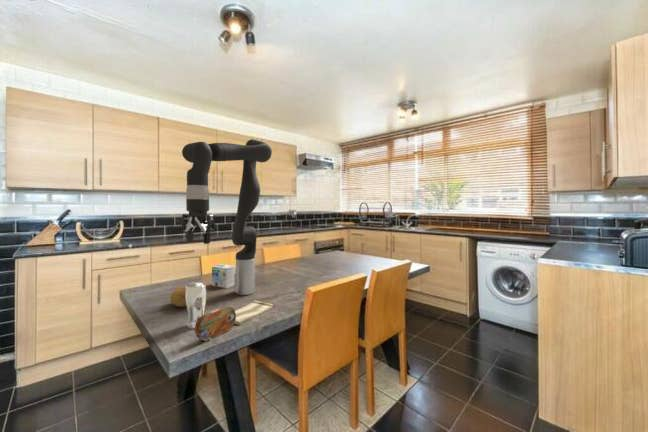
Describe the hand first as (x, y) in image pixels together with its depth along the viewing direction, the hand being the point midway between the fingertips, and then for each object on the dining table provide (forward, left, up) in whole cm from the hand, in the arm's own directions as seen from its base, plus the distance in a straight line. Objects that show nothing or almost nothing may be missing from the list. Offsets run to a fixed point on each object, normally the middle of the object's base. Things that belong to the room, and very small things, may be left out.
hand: (198, 242), depth 100 cm
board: (+9, +16, -30) cm, 35 cm away
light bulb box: (-29, +40, -30) cm, 58 cm away
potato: (-22, +10, -30) cm, 39 cm away
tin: (+12, -3, -30) cm, 33 cm away
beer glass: (0, -1, -30) cm, 30 cm away
